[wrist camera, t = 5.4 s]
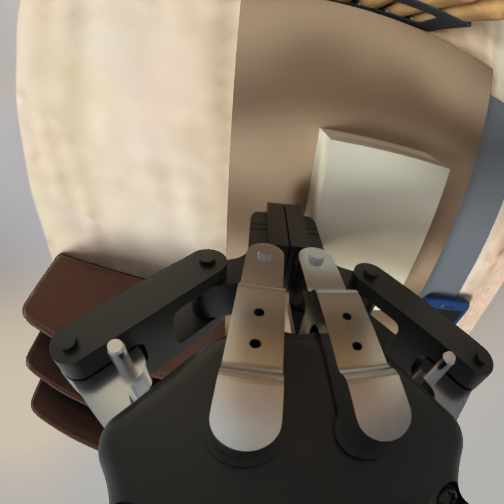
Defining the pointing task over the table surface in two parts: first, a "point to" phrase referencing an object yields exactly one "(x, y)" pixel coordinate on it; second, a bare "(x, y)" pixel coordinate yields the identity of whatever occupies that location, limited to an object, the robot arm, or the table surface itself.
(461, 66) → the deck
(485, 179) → the mat
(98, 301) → the letter holder
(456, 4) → the ammunition clip
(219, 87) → the table surface
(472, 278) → the table surface
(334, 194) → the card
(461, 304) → the cell phone
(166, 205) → the table surface
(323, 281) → the robot arm
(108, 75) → the table surface
